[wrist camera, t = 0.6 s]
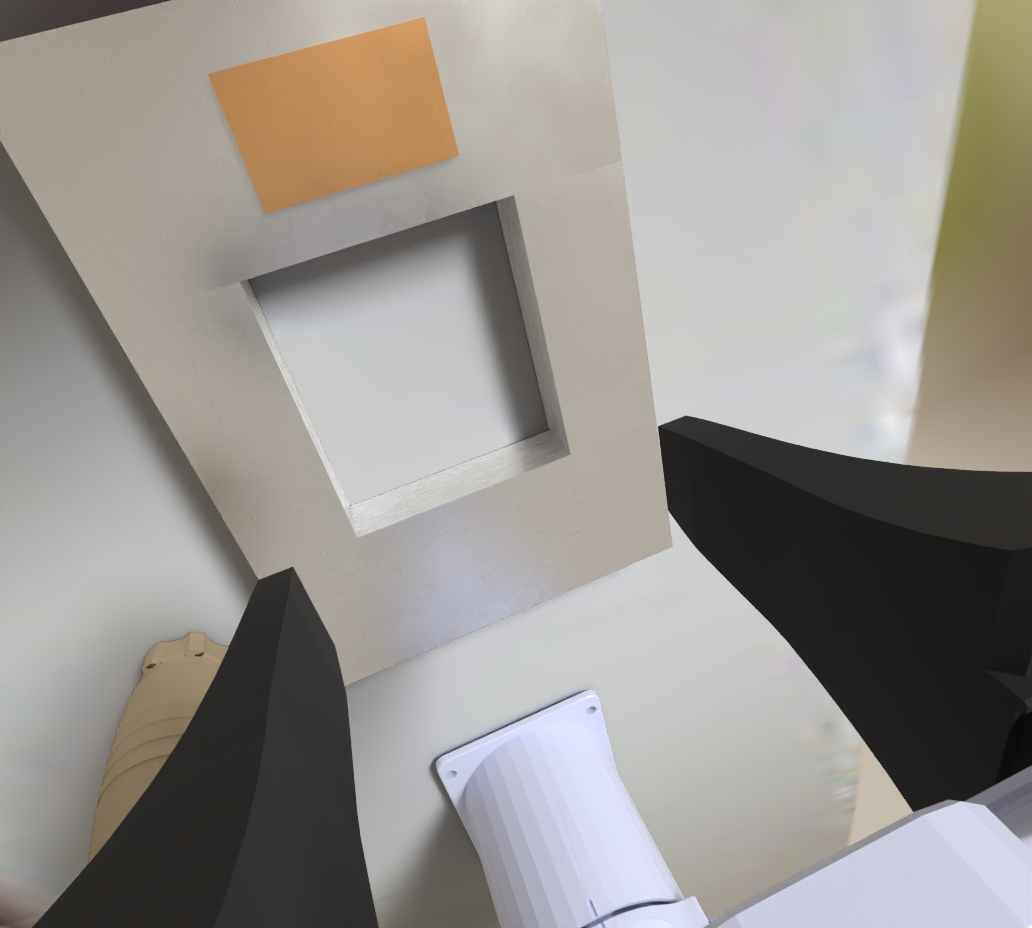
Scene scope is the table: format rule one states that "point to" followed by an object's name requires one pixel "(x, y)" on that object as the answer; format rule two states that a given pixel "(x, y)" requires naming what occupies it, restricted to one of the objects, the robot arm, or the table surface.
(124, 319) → the rack plate
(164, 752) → the handle
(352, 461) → the table surface
